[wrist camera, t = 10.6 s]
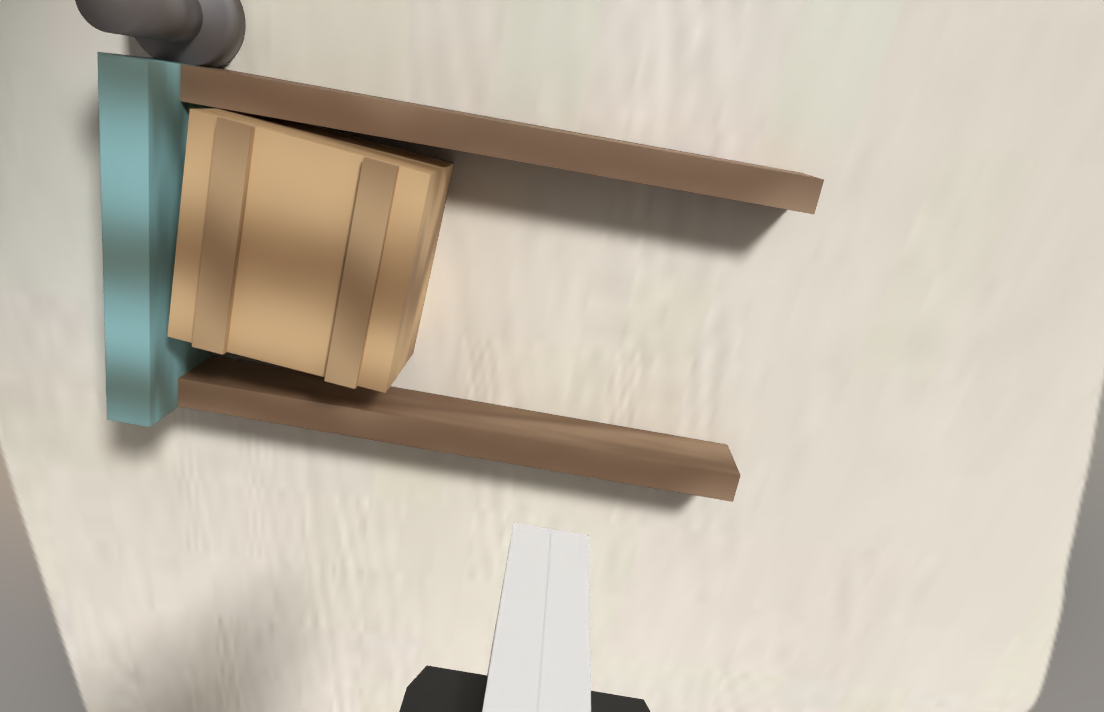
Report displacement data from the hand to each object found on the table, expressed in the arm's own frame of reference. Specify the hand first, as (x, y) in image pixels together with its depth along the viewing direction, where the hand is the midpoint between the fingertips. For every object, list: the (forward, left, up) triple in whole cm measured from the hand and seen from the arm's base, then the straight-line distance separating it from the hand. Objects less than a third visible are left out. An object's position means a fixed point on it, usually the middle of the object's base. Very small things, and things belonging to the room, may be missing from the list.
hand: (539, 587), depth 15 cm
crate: (-1, -12, -24) cm, 27 cm away
